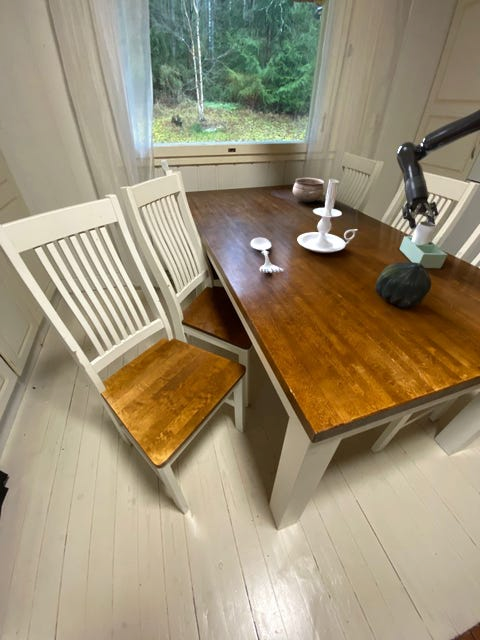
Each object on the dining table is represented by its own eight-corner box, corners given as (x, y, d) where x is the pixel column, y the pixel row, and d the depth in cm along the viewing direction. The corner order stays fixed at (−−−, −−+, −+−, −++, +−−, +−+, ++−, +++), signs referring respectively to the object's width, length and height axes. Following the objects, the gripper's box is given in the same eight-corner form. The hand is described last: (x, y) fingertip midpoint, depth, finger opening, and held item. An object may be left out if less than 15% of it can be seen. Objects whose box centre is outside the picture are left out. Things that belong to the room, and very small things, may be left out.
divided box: (420, 249, 121) (425, 236, 117) (440, 268, 107) (447, 254, 104) (399, 248, 121) (404, 236, 117) (417, 267, 108) (423, 254, 104)
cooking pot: (287, 196, 185) (290, 176, 177) (315, 196, 186) (318, 176, 178) (296, 207, 165) (299, 185, 158) (326, 207, 167) (331, 185, 159)
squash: (382, 266, 96) (391, 247, 82) (429, 279, 91) (447, 261, 77) (367, 303, 95) (373, 289, 81) (413, 318, 90) (429, 306, 76)
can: (423, 256, 113) (436, 227, 106) (406, 252, 116) (418, 224, 108) (424, 250, 118) (437, 223, 110) (408, 247, 120) (419, 219, 113)
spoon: (259, 278, 99) (259, 270, 97) (249, 242, 124) (249, 235, 122) (283, 278, 100) (284, 269, 98) (268, 242, 125) (269, 235, 123)
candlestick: (360, 258, 113) (383, 185, 95) (300, 258, 113) (313, 184, 95) (344, 239, 129) (362, 173, 111) (292, 238, 129) (302, 172, 111)
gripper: (407, 185, 108) (414, 224, 107) (438, 184, 110) (446, 222, 109) (394, 196, 116) (400, 232, 114) (423, 194, 118) (430, 230, 116)
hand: (422, 227), depth 112 cm, fingers open, 8 cm apart
